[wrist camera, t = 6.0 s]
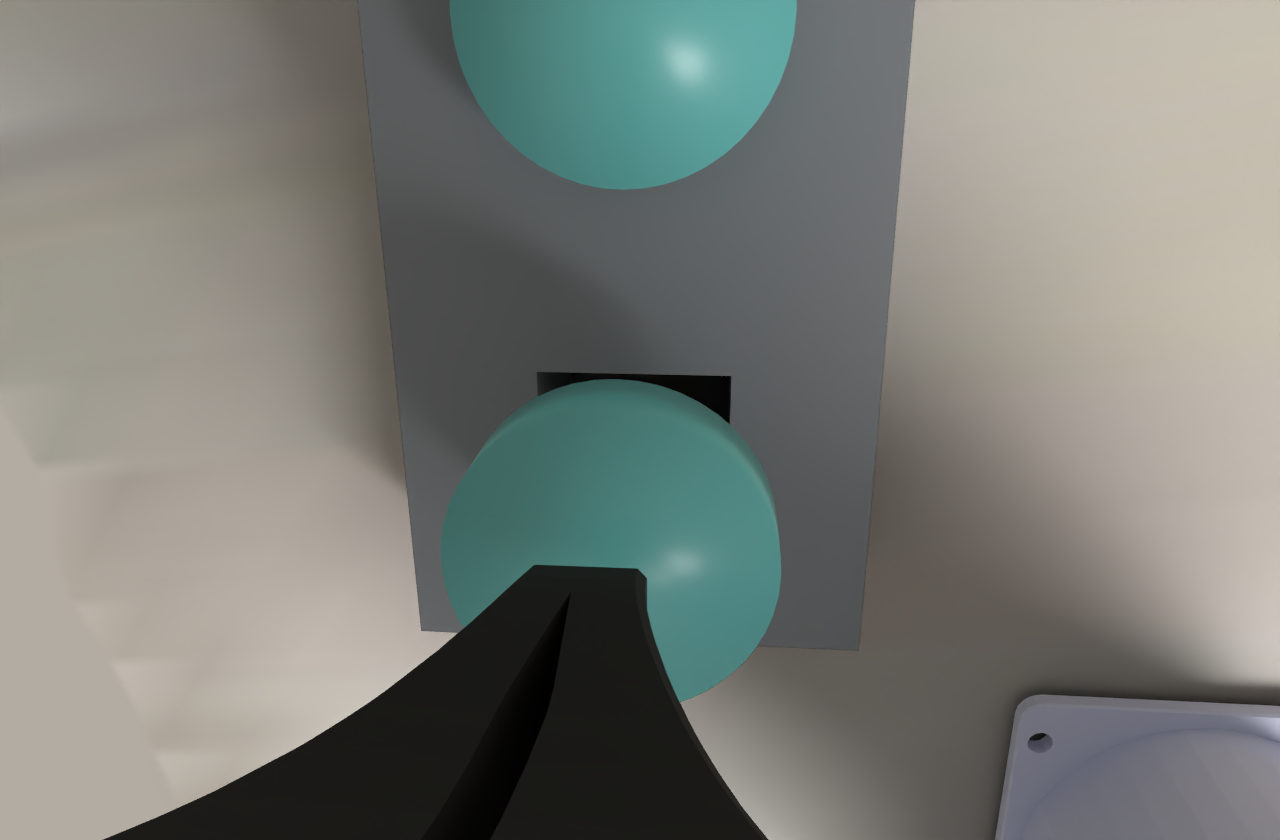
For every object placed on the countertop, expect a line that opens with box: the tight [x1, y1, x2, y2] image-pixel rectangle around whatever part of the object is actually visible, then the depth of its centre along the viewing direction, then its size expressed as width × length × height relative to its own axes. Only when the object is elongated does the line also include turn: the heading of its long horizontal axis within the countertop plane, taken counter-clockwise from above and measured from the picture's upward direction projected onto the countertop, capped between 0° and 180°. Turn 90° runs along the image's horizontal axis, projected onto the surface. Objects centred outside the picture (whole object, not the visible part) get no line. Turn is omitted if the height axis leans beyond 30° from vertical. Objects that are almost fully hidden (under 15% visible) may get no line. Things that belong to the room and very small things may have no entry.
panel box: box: [357, 0, 915, 651], centre depth 17 cm, size 14×8×3 cm, turn 0°
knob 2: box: [441, 379, 781, 702], centre depth 15 cm, size 5×5×4 cm
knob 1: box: [450, 0, 797, 190], centre depth 15 cm, size 5×5×4 cm
